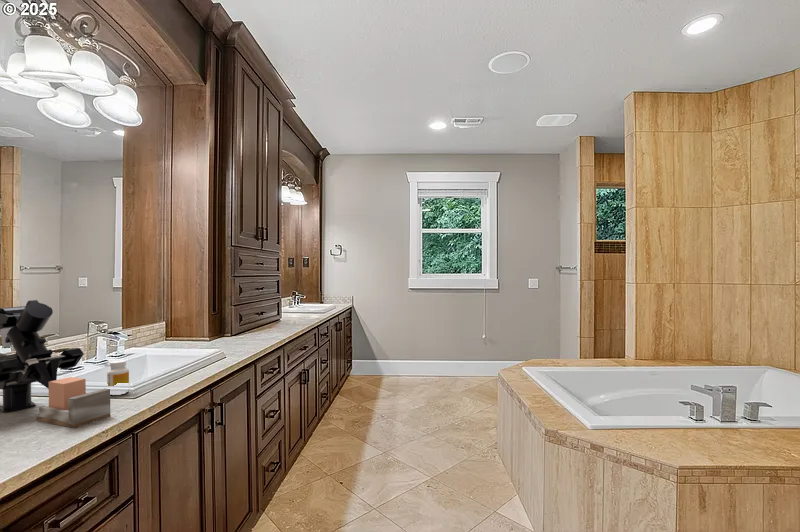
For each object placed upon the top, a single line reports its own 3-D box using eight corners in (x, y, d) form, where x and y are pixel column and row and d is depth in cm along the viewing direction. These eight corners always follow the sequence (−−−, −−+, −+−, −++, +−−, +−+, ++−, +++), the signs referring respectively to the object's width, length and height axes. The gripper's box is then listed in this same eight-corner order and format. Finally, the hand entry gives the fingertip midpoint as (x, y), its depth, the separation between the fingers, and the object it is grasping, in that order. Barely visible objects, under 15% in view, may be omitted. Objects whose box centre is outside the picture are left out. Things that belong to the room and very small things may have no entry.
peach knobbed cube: (47, 411, 104) (47, 381, 104) (69, 405, 109) (69, 376, 109) (63, 414, 101) (63, 384, 101) (85, 408, 106) (85, 378, 106)
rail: (36, 420, 103) (36, 393, 103) (74, 409, 111) (73, 384, 111) (74, 428, 97) (73, 399, 97) (110, 416, 105) (110, 389, 105)
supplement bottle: (133, 391, 127) (133, 359, 127) (119, 396, 121) (119, 363, 121) (117, 391, 127) (116, 359, 127) (102, 396, 122) (102, 363, 122)
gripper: (54, 356, 122) (78, 398, 118) (-30, 371, 104) (-5, 420, 100) (71, 331, 119) (97, 372, 115) (-13, 341, 102) (14, 391, 98)
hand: (53, 389), depth 107 cm, fingers closed
